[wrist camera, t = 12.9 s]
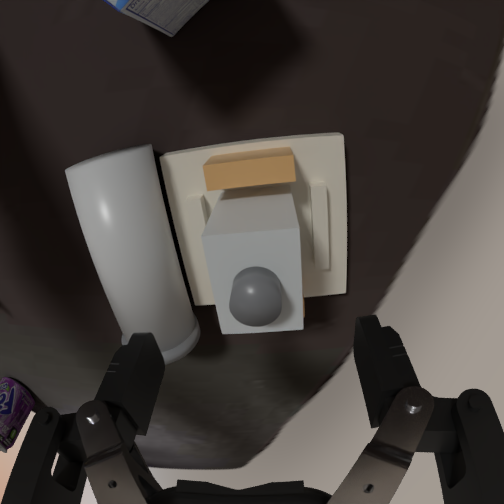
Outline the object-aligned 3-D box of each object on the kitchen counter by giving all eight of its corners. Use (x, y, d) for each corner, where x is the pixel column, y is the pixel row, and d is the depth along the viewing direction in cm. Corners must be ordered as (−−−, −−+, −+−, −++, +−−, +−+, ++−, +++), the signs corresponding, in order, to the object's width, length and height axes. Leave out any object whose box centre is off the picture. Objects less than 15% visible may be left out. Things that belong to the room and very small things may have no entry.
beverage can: (36, 390, 38) (6, 447, 27) (37, 407, 41) (11, 458, 30) (2, 367, 36) (-31, 419, 26) (5, 386, 39) (-23, 434, 29)
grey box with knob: (221, 191, 21) (193, 252, 13) (289, 185, 20) (302, 243, 13) (233, 269, 24) (218, 354, 16) (295, 265, 23) (305, 349, 16)
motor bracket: (89, 157, 21) (39, 182, 16) (337, 118, 20) (365, 128, 14) (139, 314, 28) (114, 364, 22) (341, 300, 26) (357, 355, 20)
